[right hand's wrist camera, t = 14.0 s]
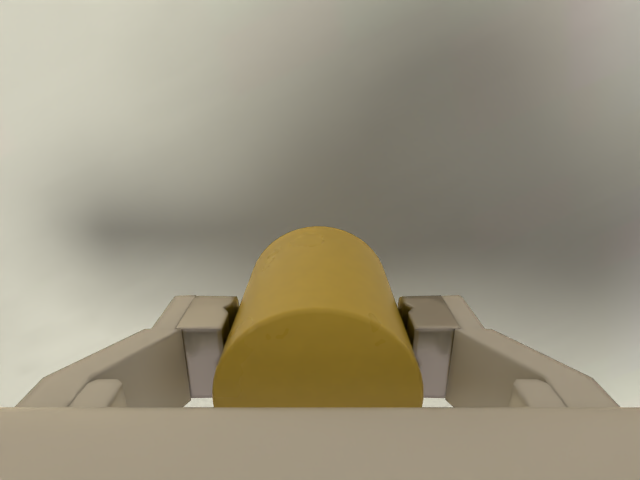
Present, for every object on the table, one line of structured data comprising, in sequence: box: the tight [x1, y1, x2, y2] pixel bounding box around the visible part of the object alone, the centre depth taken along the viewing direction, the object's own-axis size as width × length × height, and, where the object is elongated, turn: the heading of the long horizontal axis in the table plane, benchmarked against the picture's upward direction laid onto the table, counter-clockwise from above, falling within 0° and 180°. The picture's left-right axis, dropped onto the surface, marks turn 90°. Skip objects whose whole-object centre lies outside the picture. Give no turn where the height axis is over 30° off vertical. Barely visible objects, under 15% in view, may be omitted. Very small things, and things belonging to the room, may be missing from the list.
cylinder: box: [212, 226, 424, 407], centre depth 10 cm, size 4×4×5 cm
